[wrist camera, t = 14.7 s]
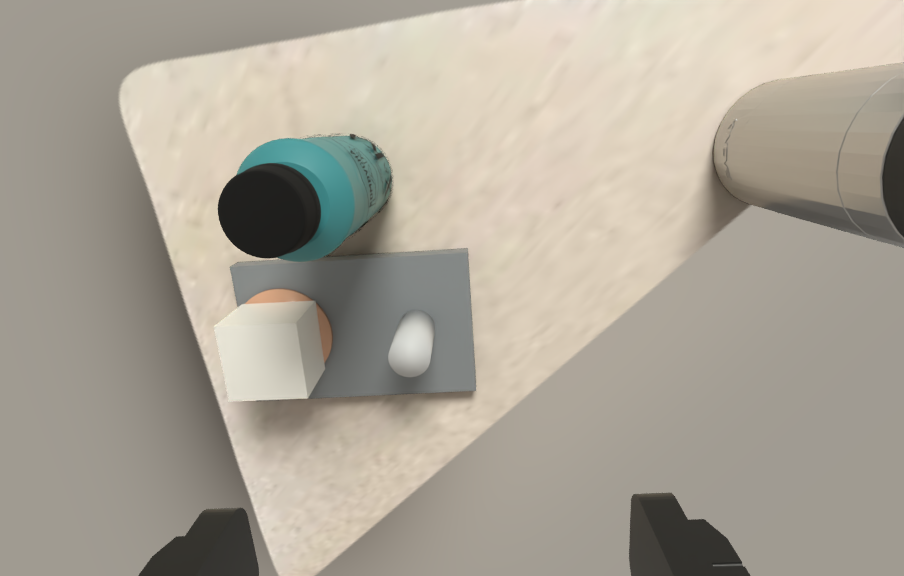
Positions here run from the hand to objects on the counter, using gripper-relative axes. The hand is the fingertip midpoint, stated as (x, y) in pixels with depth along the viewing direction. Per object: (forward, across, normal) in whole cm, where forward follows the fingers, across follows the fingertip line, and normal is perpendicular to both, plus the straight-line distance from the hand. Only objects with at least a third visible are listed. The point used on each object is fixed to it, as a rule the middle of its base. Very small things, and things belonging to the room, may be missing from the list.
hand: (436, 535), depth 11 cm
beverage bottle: (+33, +8, -5) cm, 35 cm away
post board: (+33, +9, +8) cm, 35 cm away
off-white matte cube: (+31, +15, +8) cm, 35 cm away
